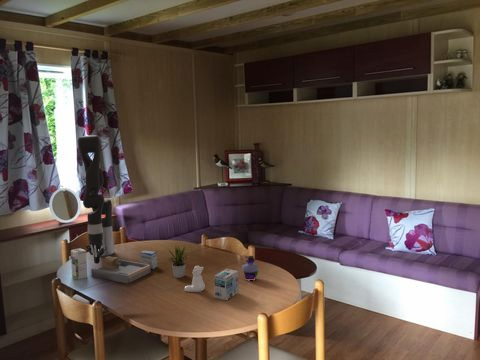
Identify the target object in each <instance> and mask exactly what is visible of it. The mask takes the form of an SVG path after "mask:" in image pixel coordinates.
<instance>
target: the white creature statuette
mask: <svg viewBox="0 0 480 360" xmlns="http://www.w3.org/2000/svg"><path fill="white" fill-rule="evenodd" d="M193 267H194V268H193V269H192V272H191V273H192V275H193V276H192V281H191V284H189V285H186V286H184V292H189V293H191V292H192V293H201V292H202V291H204V290H205V288H206V283H205V282H204V280H203V276H202V275H201V274H202V272H203V270H204V266H200V265H195V266H193Z"/></svg>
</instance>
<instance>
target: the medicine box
mask: <svg viewBox="0 0 480 360" xmlns="http://www.w3.org/2000/svg"><path fill="white" fill-rule="evenodd" d="M157 253H158V252H157V251H152V250H142V251H141V252H140V255H139V256H140V257H139V258H140V263H143V264H149V265H151V270H153V269H156V268H157V267H158V256H157Z"/></svg>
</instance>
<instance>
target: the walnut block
mask: <svg viewBox="0 0 480 360" xmlns="http://www.w3.org/2000/svg"><path fill="white" fill-rule="evenodd" d="M118 259H119V257H116V256H111V255H108V256H104V257H103V258H101V267H102V268H105V269H110V270H113V269H115V268H118V267H119V261H118Z"/></svg>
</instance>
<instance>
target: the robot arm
mask: <svg viewBox="0 0 480 360" xmlns="http://www.w3.org/2000/svg"><path fill="white" fill-rule="evenodd" d="M77 145H78V149H79V153H80V157H81V159H82V163H83V167H84V172H85V173H84V174H85V177H84V178H85V192H84V195H83V200H82V204H83V207H84V208H85V209H91V210H92V211H91V212H88V213H87V241H88V242H89V243H88V244H87V245H86V246H85V248H86V249H87V251H88V252H89V254H90V256H92V257H93V262H94V264H95V265H97V264H99V263H100V262H101V259H100V258H101V257H107V256H111V255H113V254H114V253H116V252H115V237H114V236H113V205H112V200H111V199H110V198H109V199H106V198H104V196H103V194H100V190H102V187H103V186H104V183H105V177H104V174H103V173H104V171H103V170H102V168H101V167H100V165H101V149H102V148H101V139H100V137H99V135H84V136H83V135H82V136H79V137H78V139H77ZM92 153H93V158H91V157H90V155H89V154H92ZM102 215H103V216H104V218H102Z"/></svg>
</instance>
